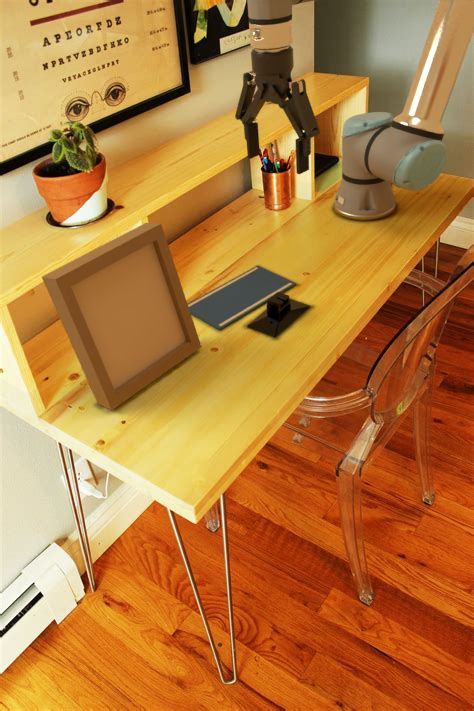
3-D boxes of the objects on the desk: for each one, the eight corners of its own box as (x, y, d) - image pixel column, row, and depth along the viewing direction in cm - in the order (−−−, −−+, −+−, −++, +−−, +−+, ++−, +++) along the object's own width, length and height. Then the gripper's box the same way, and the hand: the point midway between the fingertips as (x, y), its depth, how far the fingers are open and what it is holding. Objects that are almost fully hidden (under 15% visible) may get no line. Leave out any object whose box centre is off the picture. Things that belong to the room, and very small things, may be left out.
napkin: (257, 266, 142) (257, 265, 142) (296, 284, 135) (296, 283, 134) (182, 308, 131) (181, 306, 131) (219, 330, 124) (219, 328, 124)
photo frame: (202, 350, 119) (183, 231, 104) (113, 414, 107) (77, 290, 92) (151, 324, 128) (126, 210, 112) (63, 380, 116) (22, 262, 100)
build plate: (275, 338, 120) (274, 319, 118) (245, 327, 124) (243, 307, 121) (311, 307, 128) (310, 287, 125) (281, 297, 132) (280, 278, 129)
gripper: (210, 44, 117) (221, 156, 130) (309, 60, 102) (311, 185, 115) (239, 36, 121) (248, 145, 134) (340, 50, 105) (338, 172, 118)
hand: (277, 164), depth 124 cm, fingers open, 13 cm apart
